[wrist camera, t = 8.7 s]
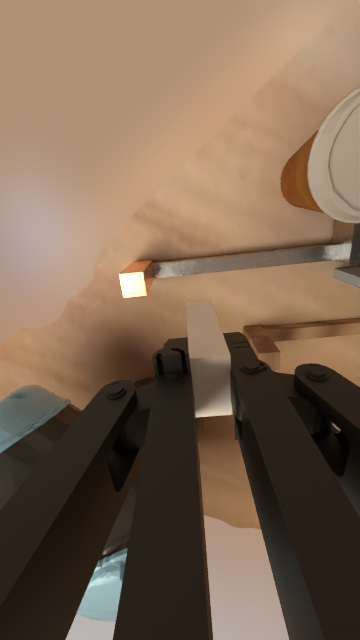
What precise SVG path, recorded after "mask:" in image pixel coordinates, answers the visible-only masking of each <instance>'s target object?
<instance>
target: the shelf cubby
mask: <svg viewBox="0 0 360 640" xmlns="http://www.w3.org/2000/svg"><path fill="white" fill-rule="evenodd" d="M334 278H336V279H338V280H341V281H343V282H346V283H348V284H351V285H353V286H356V287H358V288H360V267H350V268H340V269H335V272H334Z"/></svg>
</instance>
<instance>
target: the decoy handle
mask: <svg viewBox="0 0 360 640" xmlns="http://www.w3.org/2000/svg"><path fill="white" fill-rule="evenodd" d="M355 334H360V318H355V319H344V320H333V321H322V322H311V323H299V324H288V325H277V326H266V327H262V326H261V325H253V326H243V335H245V336H246V338H247V339H248V341H249V343H250V345H251V347H252V348H253V350H254V352H255V354H256V356H257V358H258V359H259V360H261V361H263V362H265V363H267V364H268V365H269V366H270V368H271V370H279V364H280V351H279V350H278V348H277V347H276V345H275V344H274V343H273V342H275V341H286V340H298V339H309V338H321V337H332V336H344V335H355Z"/></svg>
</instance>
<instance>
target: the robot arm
mask: <svg viewBox="0 0 360 640" xmlns="http://www.w3.org/2000/svg"><path fill="white" fill-rule="evenodd" d="M186 312H187V332H188V337H187V338H176V339H169V340H168V341H167V342H166V343H165V344H164V348H163V349H161V350H158V351H157V352H156V353H154V355H153V357H152V358H153V363H154V369H155V375H156V377H155V378H154V379H146V380H142V381H139V382H136V383H134V384H133V383H131V382H129V381H125V380H124V381H115V382H112V383H110V384H108V385H106V386H104V387H103V388H102V389H101V390H100V391H99V392H98V393H97V394H96V395H95V397H94V398H93V399H92V400H91V401H90V403H89V404H88V405H87V406H86V408H85V409H84V410H83V411H81V410H80V409H78V408H77V407H75V406H74V405H72V404H70V402H71V401H70V400H68V399H63V398H61V397H59V396H57V395H55V394H54V393H52V392H50V391H48V390H47V389H45V388H43V387H41V386H38V385H27V386H24V387H21V388H19V389H17V390H16V391H14V392H13V393H11V394H10V395H8V396H7V397H6V398H5V399H3V400H2V401H1V402H0V640H65V639H66V637H67V634H68V632H69V630H70V627H71V625H72V623H73V620H74V618H75V615H76V613H77V614H79V615H81V616H84V617H87V618H90V619H95V620H102V621H116V624H115V630H114V636H113V640H213V633H212V619H211V606H210V593H209V581H208V568H207V554H206V542H205V528H204V515H203V502H202V489H201V476H200V463H199V450H198V441H199V438H200V435H201V432H202V428H203V417H208V416H221V415H232V407H233V411H234V419H235V440H239V444H240V448H241V452H242V455H243V459H244V463H245V467H246V471H247V475H248V479H249V483H250V487H251V491H252V495H253V499H254V502H255V506H256V510H257V514H258V518H259V522H260V526H261V530H262V534H263V538H264V542H265V546H266V549H267V553H268V557H269V561H270V565H271V569H272V573H273V577H274V581H275V585H276V589H277V592H278V596H279V600H280V604H281V608H282V612H283V616H284V620H285V624H286V628H287V632H288V636H289V640H360V387H358V386H357V385H355V384H354V383H352V382H351V381H349V380H348V379H346V378H345V377H343V376H342V375H340V374H339V373H337V372H336V371H334V370H332V369H330V368H328V367H326V366H323V365H319V364H302V365H300V366H298V367H297V368H296V369H295V375H293V374H283V373H277V372H274V371H272V370H271V368H270V366H269V365H268V364H267V363H265V362H263V361H261V360H259V359H258V358H257V356H256V354H255V352H254V350H253V348H252V347H251V345H250V343H249V341H248V339H247V338H246V336H245V335H243V334H241V333H240V332H233V333H222V330H221V328H220V325H219V322H218V319H217V316H216V314H215V311H214V308H213V305H212V303H211V300H209V301H199V302H188V303H186ZM332 424H335V425H336V426H337V427H338V428H339V429H340V431H339V430H338V429H336V428H335V427H334V426H333V425H332Z"/></svg>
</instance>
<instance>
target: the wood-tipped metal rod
mask: <svg viewBox="0 0 360 640" xmlns="http://www.w3.org/2000/svg"><path fill="white" fill-rule="evenodd" d="M329 260H336V261H340V262H343V263H347V264H353V263H360V223H346V222H342V221H338V220H336V219H335V221H334V229H333V237H332V244H325V245H315V246H306V247H296V248H286V249H277V250H267V251H258V252H248V253H239V254H229V255H220V256H210V257H201V258H191V259H182V260H172V261H163V262H153V263H152V260H146V261H137V262H133V263H132V264H130V265H129V266H128V267H127V268H126V269H125V270H123V271H122V272H121V273H120V274H119V277H120V282H121V287H122V292H123V297H124V298H125V297H135V296H145V295H147V294H148V292H149V289H150V287H151V285H152V283H153V281H154V279H155V278H162V277H172V276H182V275H192V274H201V273H211V272H221V271H231V270H241V269H251V268H260V267H270V266H280V265H290V264H300V263H310V262H319V261H329Z"/></svg>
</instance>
